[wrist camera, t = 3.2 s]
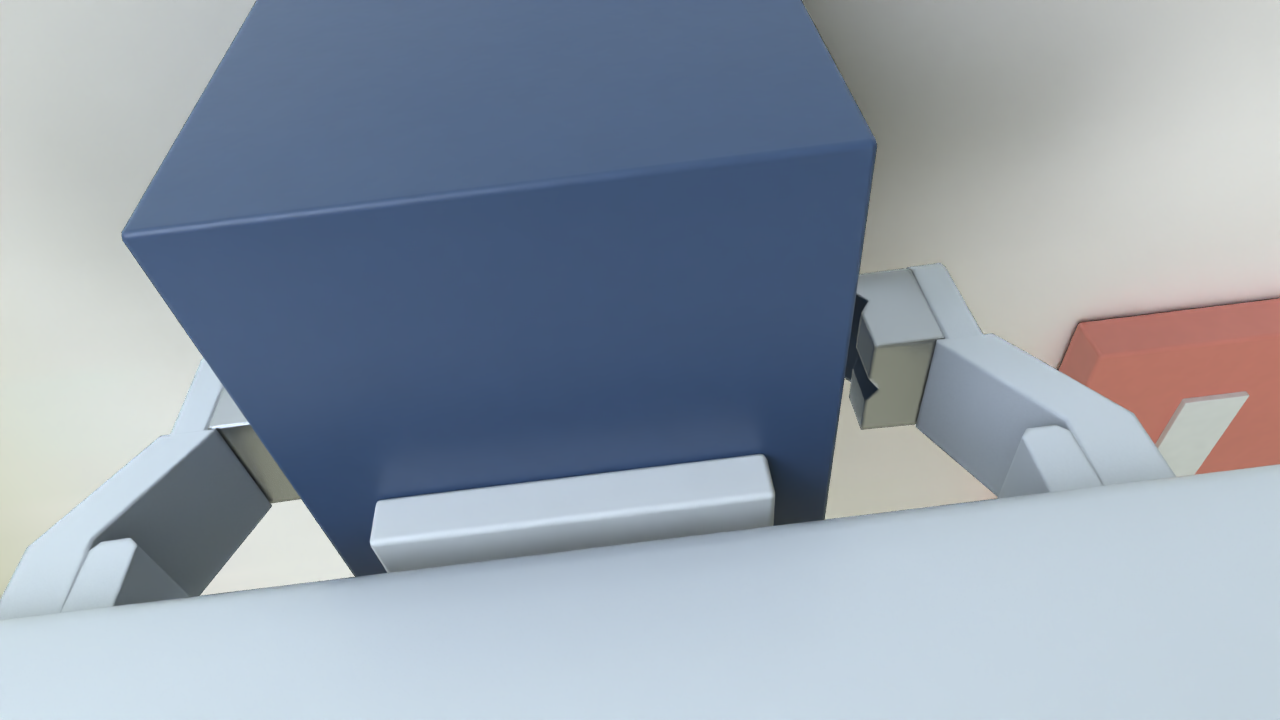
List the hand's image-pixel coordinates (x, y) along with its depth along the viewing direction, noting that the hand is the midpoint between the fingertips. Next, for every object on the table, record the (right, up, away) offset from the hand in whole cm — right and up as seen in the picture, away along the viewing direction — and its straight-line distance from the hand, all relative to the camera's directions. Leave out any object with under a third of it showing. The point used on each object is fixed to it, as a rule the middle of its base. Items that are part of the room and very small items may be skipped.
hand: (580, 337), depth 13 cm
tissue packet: (+15, -2, +11) cm, 19 cm away
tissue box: (0, +3, +3) cm, 4 cm away
